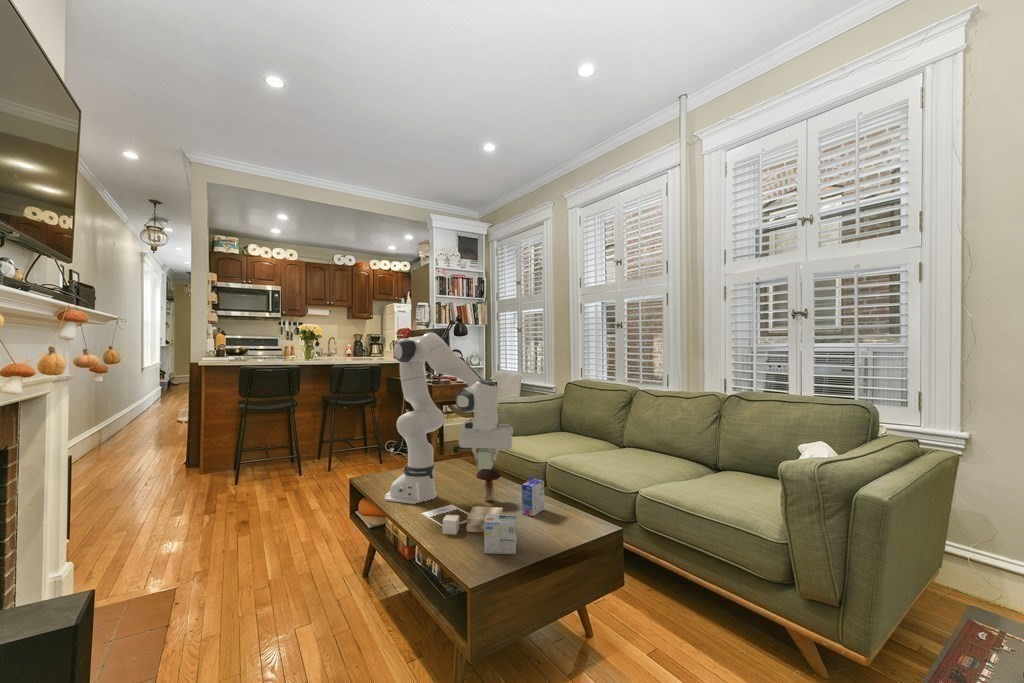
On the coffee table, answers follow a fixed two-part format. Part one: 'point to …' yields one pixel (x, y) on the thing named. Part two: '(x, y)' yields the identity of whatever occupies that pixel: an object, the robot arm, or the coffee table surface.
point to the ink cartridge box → (532, 496)
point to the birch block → (480, 517)
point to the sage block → (485, 459)
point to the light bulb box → (500, 533)
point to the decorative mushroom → (488, 481)
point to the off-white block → (451, 524)
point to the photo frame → (442, 510)
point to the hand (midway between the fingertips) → (485, 459)
